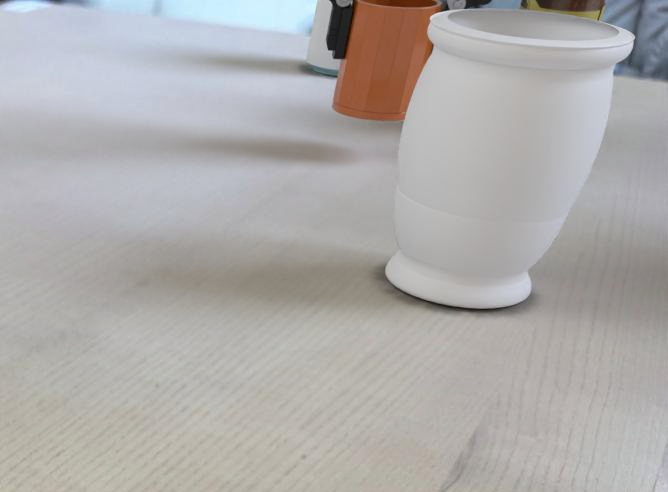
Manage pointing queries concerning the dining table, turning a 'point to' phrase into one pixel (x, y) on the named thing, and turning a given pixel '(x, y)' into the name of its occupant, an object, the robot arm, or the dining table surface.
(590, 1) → the sauce bottle
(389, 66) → the cup
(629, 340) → the dining table surface
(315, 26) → the can
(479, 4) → the robot arm
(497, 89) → the jar
